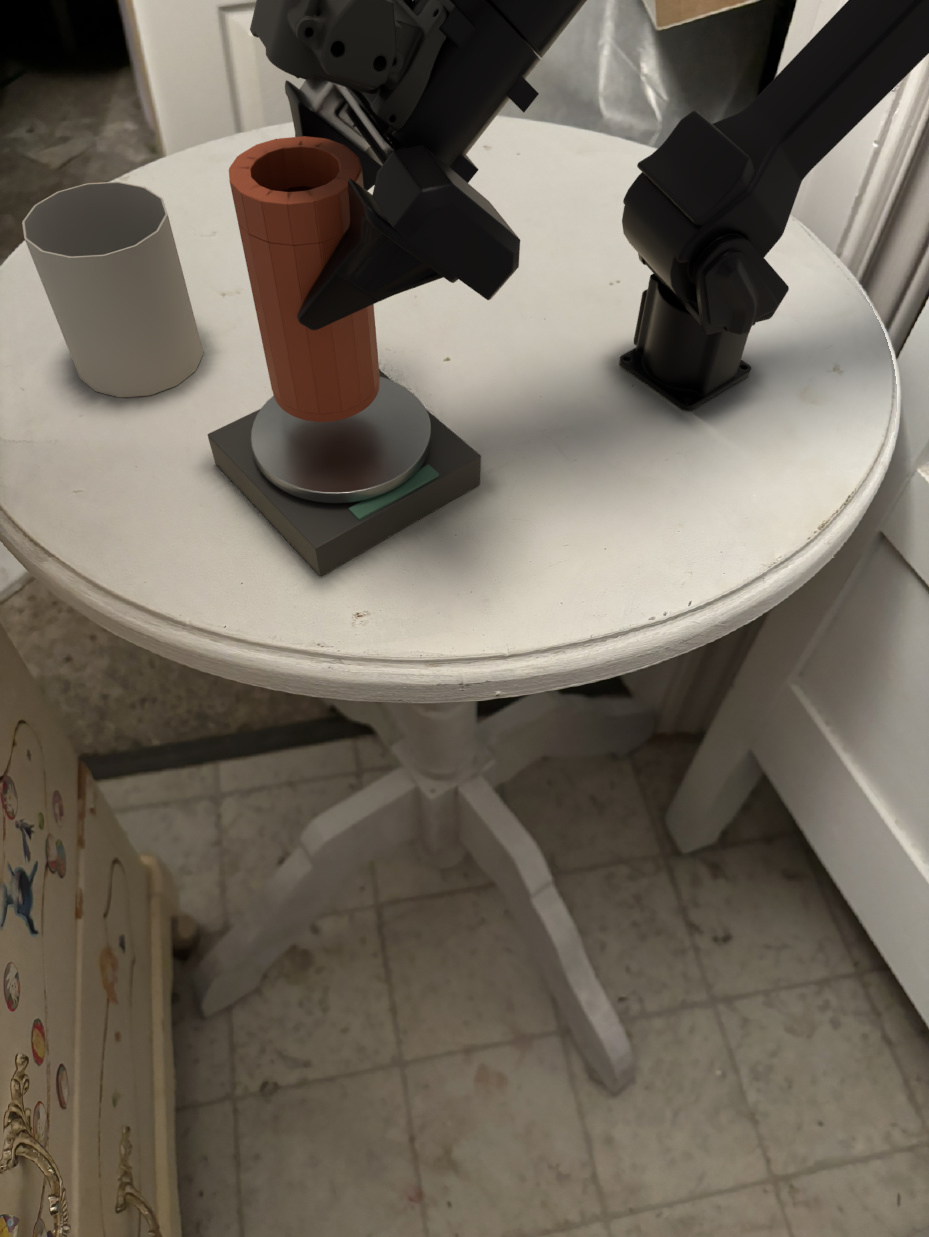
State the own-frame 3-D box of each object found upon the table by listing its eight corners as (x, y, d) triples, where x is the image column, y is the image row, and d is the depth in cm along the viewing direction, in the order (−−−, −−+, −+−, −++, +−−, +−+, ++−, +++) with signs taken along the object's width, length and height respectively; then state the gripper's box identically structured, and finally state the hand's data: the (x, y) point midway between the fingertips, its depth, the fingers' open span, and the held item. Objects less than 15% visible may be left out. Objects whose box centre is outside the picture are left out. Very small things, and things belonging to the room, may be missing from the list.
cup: (52, 380, 62) (-8, 241, 54) (118, 310, 66) (72, 172, 58) (165, 408, 60) (120, 269, 52) (224, 334, 65) (192, 196, 57)
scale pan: (467, 449, 54) (467, 438, 53) (317, 532, 50) (315, 521, 49) (363, 360, 59) (362, 350, 58) (219, 429, 55) (216, 419, 54)
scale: (480, 485, 56) (481, 452, 54) (320, 577, 52) (314, 546, 50) (368, 387, 62) (365, 354, 59) (215, 463, 57) (205, 431, 55)
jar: (347, 341, 55) (322, 124, 45) (399, 396, 52) (385, 178, 42) (255, 376, 53) (207, 158, 43) (303, 437, 50) (264, 217, 40)
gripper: (288, -201, 40) (106, 110, 46) (450, -53, 30) (187, 322, 36) (458, -17, 48) (284, 226, 54) (632, 149, 38) (391, 426, 44)
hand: (286, 288), depth 47 cm, fingers closed on jar, 6 cm apart
